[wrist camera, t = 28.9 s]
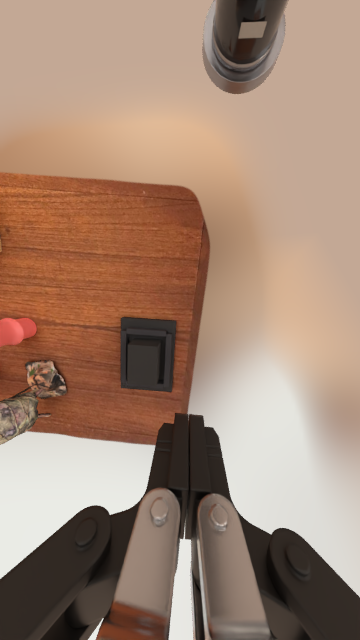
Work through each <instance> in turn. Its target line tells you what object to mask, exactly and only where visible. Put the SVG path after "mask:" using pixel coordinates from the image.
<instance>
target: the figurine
mask: <svg viewBox="0 0 360 640" xmlns="http://www.w3.org/2000/svg"><path fill="white" fill-rule="evenodd" d="M36 331H37V327H36V324H35V323H34V322H33V321H32V320H31V319H29V318H20V319H15V320H14V319H12V318H4V319H1V320H0V347H1V346H4V345H17V344H19V343H20V342H21V341H22V340H23V339H26V338H29V337H32V336H34V335H35V333H36Z"/></svg>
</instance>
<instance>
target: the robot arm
mask: <svg viewBox="0 0 360 640" xmlns="http://www.w3.org/2000/svg"><path fill="white" fill-rule="evenodd" d="M287 3H288V0H216V5H215V14H214V19H213V28H212V42H213V47H214V50H215V53H216V55H217V57H218V59H219V60H220V62H221V63H222V64H223V65H224V66H226V67H227V68H229V69H231V70H233V71H238V72H244V71H249V70H251V69H254V68H255V67H257V66H258V65H260V64H261V63H262V62H263V61H264V60H265V59H266V57H267V56H268V54H269V53H270V51H271V49H272V47H273V44H274V42H275V39H276V36H277V33H278V28H279V25H280V23H281V20H282V17H283V14H284V11H285V8H286V6H287ZM184 527H185V539H191V553H192V554H191V555H192V561H191V569H190V580H191V600H192V617H193V636H194V637H193V638H194V640H360V597H359V596H358V595H357V594H356V593H355V592H354V591H353V590H352V589H351V588H350V587H349V586H348V585H347V584H346V583H345V582H344V581H343V580H342V578H341V577H340V576H339V575H338V574H336V572H335V571H334V570H333V569H332V568H331V567H330V566H329V565H328V564H327V563H326V562H325V561H324V560H323V559H322V557H320V555H319V554H318V553H317V552H316V551H315V550H314V549H313V548H312V547H311V546H310V545H309V544H308V543H307V542H306V541H305V540H304V539H303V538H302V537H301V536H299V535H298V534H297V533H295V532H294V531H291V530H289V529H286V528H279V529H276V530H275V531H274V532H273V533H272V535H271V534H269V533H267V532H265V531H263V530H261V529H260V528H258V527H256V526H254V525H252V524H250V523H249V522H248V521H246V520H245V519H244V518H243V517H242V516H241V515H240V514H239V513H238V511H237V510H236V508H235V506H234V504H233V502H232V500H231V497H230V493H229V488H228V483H227V477H226V472H225V467H224V463H223V458H222V452H221V448H220V442H219V437H218V435H217V433H216V432H215V430H214V429H213V428H211V427H204V420H203V416H202V415H192V414H190V415H189V422H188V414H181V413H175V419H174V424H170V423H164V424H163V425H162V427H161V428H160V429H159V431H158V436H157V442H156V446H155V451H154V456H153V461H152V466H151V472H150V476H149V481H148V486H147V489H146V492H145V494H144V496H143V497H142V498H141V500H140V501H139V502H138V503H137V504H136V505H135V506H133V507H132V508H130V509H128V510H125V511H122V512H119V513H116V514H113V515H109V512H108V511H107V510H106V509H105V508H104V507H101V506H90V507H87V508H85V509H83V510H81V511H80V512H79V513H77V514H76V515H75V516H74V517H73V518H71V519H70V520H69V521H68V522H67V523H66V524H65V525H63V526H62V527H61V528H60V529H59V530H57V531H56V532H55V533H54V534H53V535H52V536H50V537H49V538H48V539H47V540H46V541H45V542H43V543H42V544H41V545H40V546H39V547H38V548H36V549H35V550H34V551H33V552H32V553H30V554H29V555H28V556H27V557H26V558H25V559H23V560H22V561H21V562H20V563H19V564H18V565H17V566H15V567H14V568H13V569H12V570H11V571H9V572H8V573H7V574H6V575H5V576H4V577H2V578H1V579H0V640H88V638H89V637H90V636H91V634H92V633H93V631H94V630H95V629H96V627H97V626H98V624H99V623H100V621H101V620H102V618H104V619H103V622H102V624H101V626H100V629H99V632H98V635H97V638H96V640H168V638H169V628H170V617H171V607H172V596H173V586H174V585H173V584H174V576H175V573H176V570H177V564H178V553H179V543H180V539H183V537H184Z"/></svg>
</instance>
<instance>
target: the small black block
mask: <svg viewBox="0 0 360 640" xmlns="http://www.w3.org/2000/svg"><path fill="white" fill-rule="evenodd" d="M160 363H161V340H160V339H146V338H134V339H133V340H132V341H131V342H130V343H129V344H128V361H127V384H137V385H150V386H157V383H158V379H159V376H160Z"/></svg>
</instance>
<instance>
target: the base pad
mask: <svg viewBox="0 0 360 640" xmlns="http://www.w3.org/2000/svg"><path fill="white" fill-rule="evenodd" d="M175 334H176V321H174V320H160V319H146V318H132V317H122V318H121V388H129V389H141V390H153V391H165V392H172V382H173V366H174V350H175ZM134 338H146V339H160V340H161V363H160V376H159V379H158V383H157V386H150V385H137V384H127V361H128V344H129V343H130V342H131V341H132V340H133V339H134Z"/></svg>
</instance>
